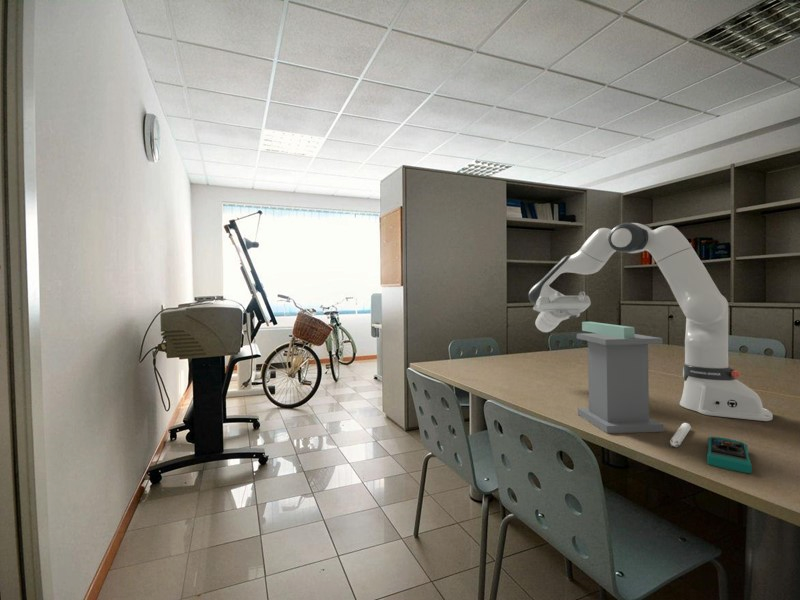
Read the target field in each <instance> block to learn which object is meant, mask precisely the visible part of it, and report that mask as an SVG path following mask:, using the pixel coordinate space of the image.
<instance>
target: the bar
mask: <svg viewBox="0 0 800 600" xmlns="http://www.w3.org/2000/svg"><path fill="white" fill-rule="evenodd" d="M581 331H583V332H588V333H598V334H604V335H609V336H615V337H620V338H635V334H636V332H635V326H627V325H619V324H611V323H604V322H603V323H602V322H596V321H582V322H581Z"/></svg>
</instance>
